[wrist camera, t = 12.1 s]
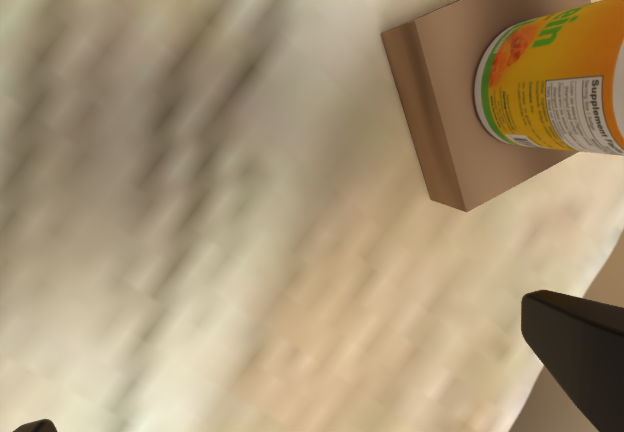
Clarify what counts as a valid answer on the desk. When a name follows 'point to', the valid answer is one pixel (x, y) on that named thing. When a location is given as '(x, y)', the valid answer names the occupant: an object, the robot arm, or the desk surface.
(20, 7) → the desk surface
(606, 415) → the robot arm
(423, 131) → the walnut base block
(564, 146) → the supplement bottle
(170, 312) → the desk surface
